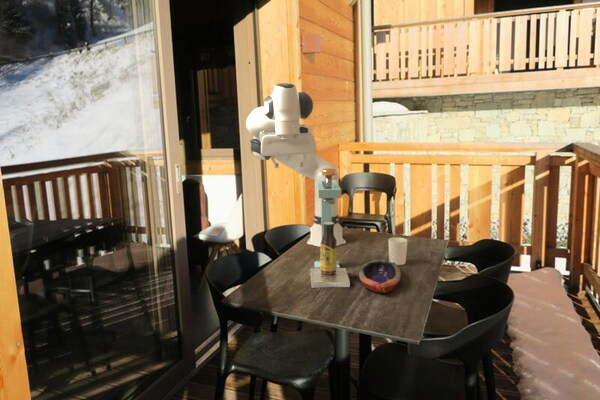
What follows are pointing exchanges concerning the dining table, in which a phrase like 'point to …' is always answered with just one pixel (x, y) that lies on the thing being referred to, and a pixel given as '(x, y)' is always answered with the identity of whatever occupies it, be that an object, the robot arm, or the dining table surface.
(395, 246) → the white cup
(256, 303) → the dining table surface
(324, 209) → the press frame
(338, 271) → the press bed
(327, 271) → the sauce bottle
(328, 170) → the ram
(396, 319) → the dining table surface
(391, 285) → the dish
